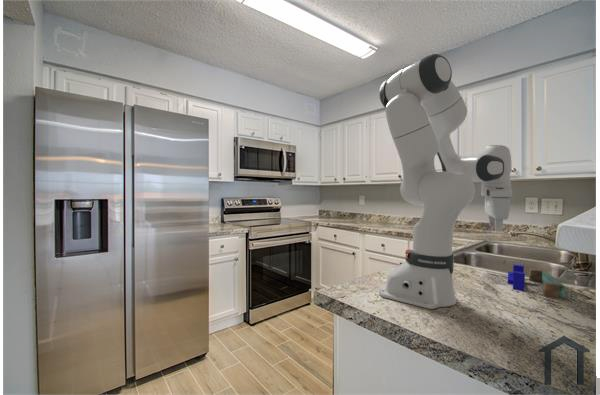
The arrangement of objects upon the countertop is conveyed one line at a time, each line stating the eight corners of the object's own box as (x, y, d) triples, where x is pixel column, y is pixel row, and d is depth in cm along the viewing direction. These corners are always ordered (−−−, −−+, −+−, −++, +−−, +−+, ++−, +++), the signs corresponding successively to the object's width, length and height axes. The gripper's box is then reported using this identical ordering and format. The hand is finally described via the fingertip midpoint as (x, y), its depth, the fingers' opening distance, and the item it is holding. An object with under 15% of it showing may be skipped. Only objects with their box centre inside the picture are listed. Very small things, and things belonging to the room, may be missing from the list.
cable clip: (507, 279, 107) (508, 263, 107) (522, 281, 104) (523, 265, 104) (507, 288, 97) (508, 271, 97) (524, 291, 95) (524, 273, 94)
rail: (544, 296, 90) (545, 283, 90) (529, 279, 106) (529, 268, 106) (564, 299, 88) (565, 286, 88) (545, 281, 104) (545, 270, 104)
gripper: (480, 189, 114) (479, 224, 114) (491, 192, 95) (490, 233, 96) (499, 189, 111) (498, 225, 112) (514, 192, 92) (513, 234, 93)
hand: (494, 228), depth 104 cm, fingers open, 8 cm apart
